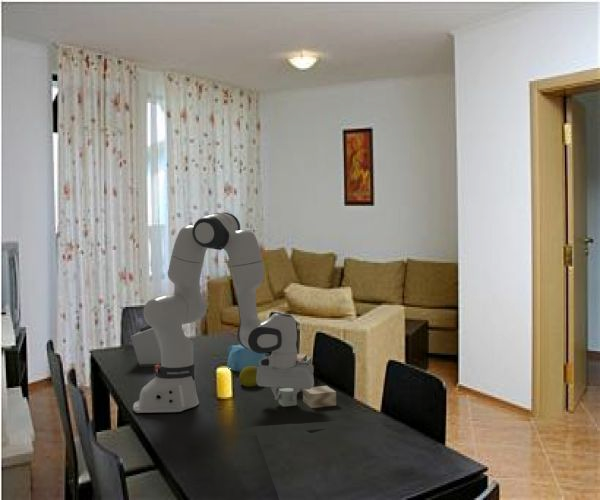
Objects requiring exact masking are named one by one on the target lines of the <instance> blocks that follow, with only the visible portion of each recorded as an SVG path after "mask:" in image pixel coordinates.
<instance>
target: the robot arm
mask: <svg viewBox="0 0 600 500" xmlns="http://www.w3.org/2000/svg"><path fill="white" fill-rule="evenodd" d="M207 249H213V250H217V251H218V250H219V251H221V250H224V251H225V252H226V254H227V257H228V263H229V269H230V273H231V278H232V281H233V284H234V289H235V293H236V301H237V308H238V315H239V324H238V328H237V334H236V337H237V338H236V339H237V341H238V343H239V345H241V346H242V347H244V348H246V349H249V350H251V351H253V352H255V353H258V354H263V353H265V354H268V353H271V354H270V355H269V354H268V355H265V357H263V358H261V359H260V360H259V361H258V364H259V367H258V369H257V375H256V383H257V384H258V385H257V386H258V387H267V388H270V389H271V391H272V393H273V395H274V400H275V401H279V400H280V394H278V391H277V389H278V388H279V389H282V388H293V391H294V394H293V395H291V396H290V398H291V399H290V401H296V395H298V393H299V392H298V391H299V389H311V388H312V387H315V379H314V372H315V371H314V370H315V369H314V365H313V363H312V362H311V363H310V362H308V361H297V354H298V348H297V340H298V332H297V331H298V330H297V323H296V318H295V317H294V316H293V315H291V314H289V313H282V312H275V313H273V314H272V315H271V316H270V317H269V318H267V319H265V320H264V321H260V320H259V317H258V309H257V308H258V307H257V302H256V300H257V299H256V294H257V290H258V288H259V287H260V286H261V285H262V283H263V281H264V275H265V274H264V271H265V270H264V262H263V256H262V252H261V248H260V246H259V242H258V240H257V237H256V235H255V233H254V232H252V231H250V230H246V229H241V224H240V221H239V219H238V217H237V216H235V215H234V214H232V213H229V212H214V213H212V214H209V215H205V216H202V217H200V218H198V219H197V221H195V223H194V224H193V225H185V226H183V227H182V228H180V229H179V232H178V234H177V236H176V239H175V242H174V244H173V248H172V252H171V256H170V261H169V266H168V271H167V276H168V279H169V280H170V281H171V282H172V284H173V286H174V291H173V293H172V294H165V295H160V296H156V297H154V298H152V299H150V300H148V301H146V303H145V304H144V307H143V319H144V320H145V323H146V325H149V326H151V327H152V328H153V329H154V330H155V332H156V334H157V336H158V338H159V341H160V347H161V365H156V366H155V367H154V371H155V377H154V378H153V379H151V380H150V381H148V383H147V384H146V385H144V386H143V387H142V388H141V390H140V393H139V399H138V400H137V401H135V402H134V403H133V405H132V410H133V411H134V412H135V413H137V414H139V413H140V414H141V413H143V414H144V413H145V414H146V413H151V414H152V413H180V412H183V411H185V410H189V409H191V408H195V407H197V406H198V405H199V404H200V401H199V399H198V394H197V390H196V383H195V380H196V365H195V363H194V343H193V341H192V339H191V338H189V337H188V336H186V335H185V332H184V329H183V325H187V324H193V323H195V322H197V321H199V320H201V319H203V318H204V317H205V315H206V313H207V310H208V304H207V301H206V299H205V297H204V296H203V295H202V294H201V293H202V291H201V288H200V286H201V285H200V283H201V277H202V270H203V265H204V261H205V257H206V251H207ZM309 364H311V365H309Z"/></svg>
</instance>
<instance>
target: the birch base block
mask: <svg viewBox="0 0 600 500" xmlns="http://www.w3.org/2000/svg"><path fill="white" fill-rule="evenodd" d="M302 402H303V403H304V404H306V405H307V406H308V407H309V408H311V409H317V408H325V407H333V406H334V407H335V406H337V391H335V390H334V389H333V388H331V387H329V386H328V385H321V386H313V387H312V388H311V389H303V390H302Z"/></svg>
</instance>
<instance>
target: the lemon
mask: <svg viewBox="0 0 600 500" xmlns="http://www.w3.org/2000/svg"><path fill="white" fill-rule="evenodd" d="M257 369H258V367H255V366H248V367H246V368H244V369H243V370H242V371H241V372H239V375H238V376H239V382H240V383H241V385H242V387H243V386H244V387H246V388H249V387H250V388H251V387H255V386H258V384H257V383H256V375H257Z"/></svg>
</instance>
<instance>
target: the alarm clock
mask: <svg viewBox="0 0 600 500" xmlns="http://www.w3.org/2000/svg"><path fill="white" fill-rule="evenodd" d="M130 339H131V343H132V346H133V348H134V352H135V356H136V357H137V362H138V367H141V368H143V367H144V368H146V367H148V368H149V367H151V368H152V367H154V368H155V366H156V365H161V347H160V341H159V338H158V336H157V334H156V332H155V330H154V329H153V328H152V327H151V326H149V325H148V324H146V325H144V326H142V327H140V328H139V331H138V332H136V333H135V334H133V335H131V336H130Z"/></svg>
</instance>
